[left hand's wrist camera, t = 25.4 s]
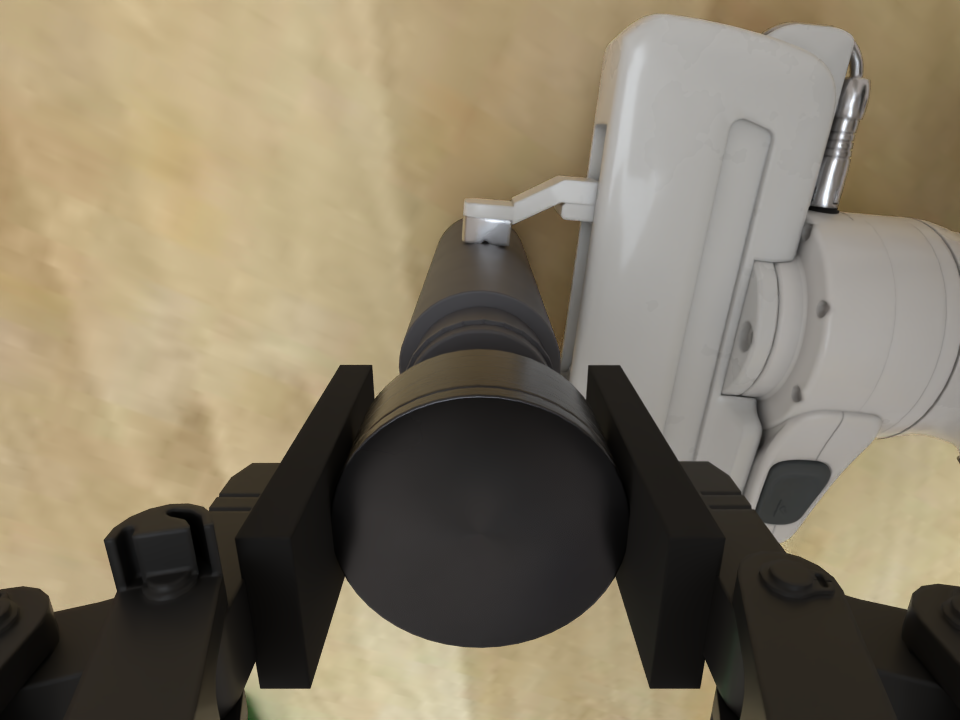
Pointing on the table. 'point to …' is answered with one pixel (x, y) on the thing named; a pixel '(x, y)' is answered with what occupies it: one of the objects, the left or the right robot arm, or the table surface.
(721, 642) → the left robot arm
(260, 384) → the table surface
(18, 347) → the table surface
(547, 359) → the dark grey cylinder
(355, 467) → the lid
